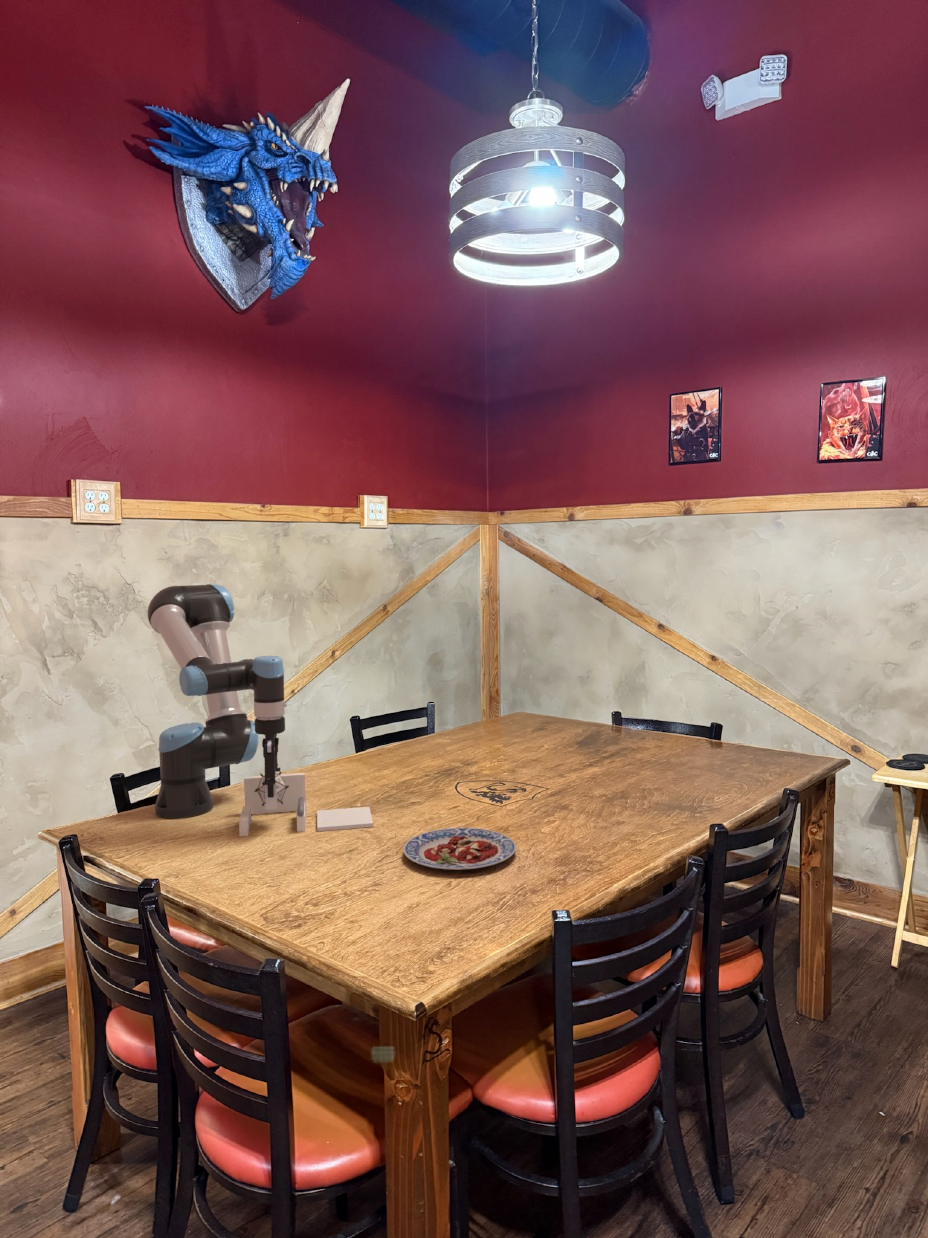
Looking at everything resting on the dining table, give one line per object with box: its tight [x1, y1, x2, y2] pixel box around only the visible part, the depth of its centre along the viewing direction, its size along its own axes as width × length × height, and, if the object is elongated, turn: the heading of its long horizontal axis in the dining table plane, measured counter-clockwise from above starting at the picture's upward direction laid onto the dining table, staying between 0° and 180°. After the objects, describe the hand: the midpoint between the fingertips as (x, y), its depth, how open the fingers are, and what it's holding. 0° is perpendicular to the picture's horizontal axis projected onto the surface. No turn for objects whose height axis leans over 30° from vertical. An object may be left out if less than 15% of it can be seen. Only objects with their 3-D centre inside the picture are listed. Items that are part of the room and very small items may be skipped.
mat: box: [316, 806, 374, 832], centre depth 206 cm, size 14×14×1 cm
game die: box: [255, 771, 289, 806], centre depth 203 cm, size 9×8×10 cm
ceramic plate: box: [402, 827, 517, 871], centre depth 181 cm, size 26×26×3 cm
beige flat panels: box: [238, 772, 307, 837], centre depth 206 cm, size 16×19×10 cm
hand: (272, 802), depth 203 cm, fingers closed on game die, 9 cm apart
